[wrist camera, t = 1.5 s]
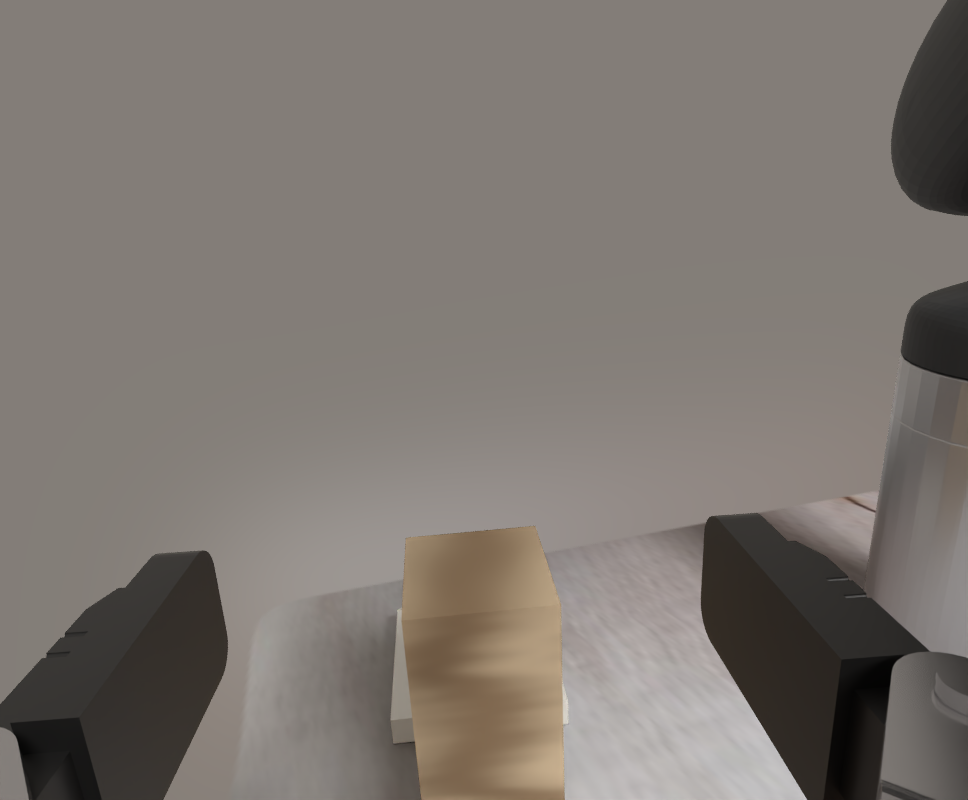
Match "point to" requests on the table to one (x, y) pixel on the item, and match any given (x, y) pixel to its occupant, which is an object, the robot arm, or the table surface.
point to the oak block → (484, 666)
